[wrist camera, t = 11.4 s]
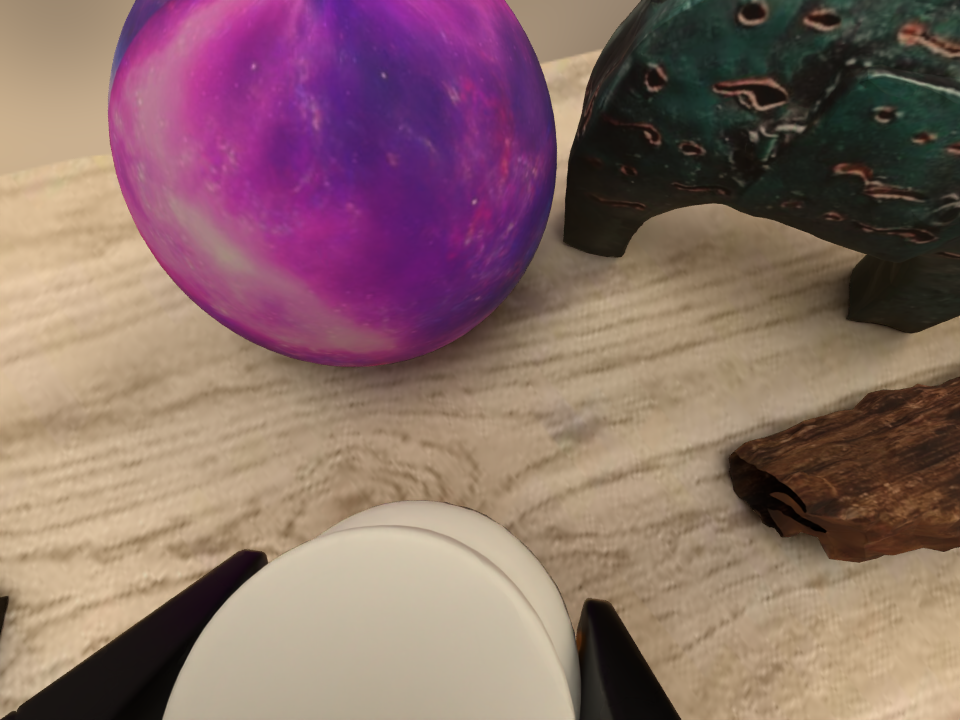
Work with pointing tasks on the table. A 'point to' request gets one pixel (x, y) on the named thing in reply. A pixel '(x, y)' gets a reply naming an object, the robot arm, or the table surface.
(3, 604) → the scale
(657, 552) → the table surface
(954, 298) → the ceramic cat
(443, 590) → the pill bottle
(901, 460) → the driftwood
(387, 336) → the decorative orb
